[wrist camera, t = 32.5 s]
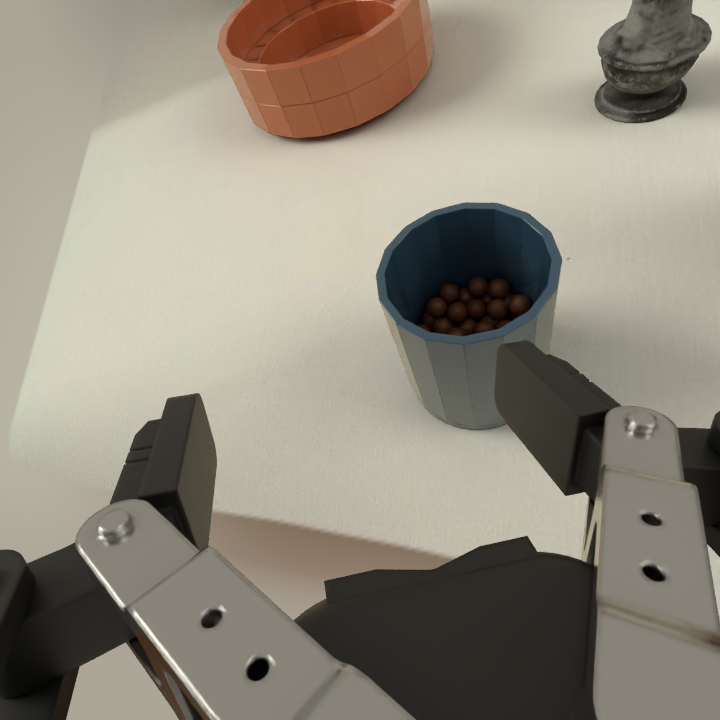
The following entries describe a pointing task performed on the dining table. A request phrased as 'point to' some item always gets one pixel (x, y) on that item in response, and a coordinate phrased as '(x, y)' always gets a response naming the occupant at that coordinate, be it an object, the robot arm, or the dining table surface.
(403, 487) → the dining table surface
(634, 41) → the salt shaker
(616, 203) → the dining table surface
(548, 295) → the cup
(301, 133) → the pour bowl
